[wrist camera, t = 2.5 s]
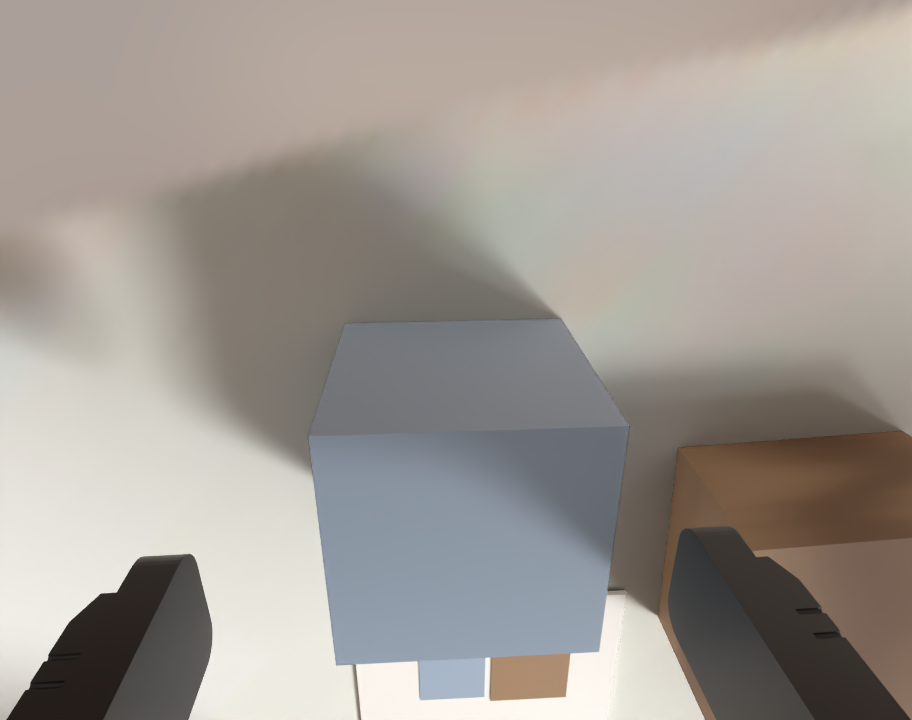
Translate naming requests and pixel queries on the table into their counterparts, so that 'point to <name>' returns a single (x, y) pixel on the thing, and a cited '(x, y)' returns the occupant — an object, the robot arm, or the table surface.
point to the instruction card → (498, 683)
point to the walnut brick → (814, 533)
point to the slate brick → (465, 491)
